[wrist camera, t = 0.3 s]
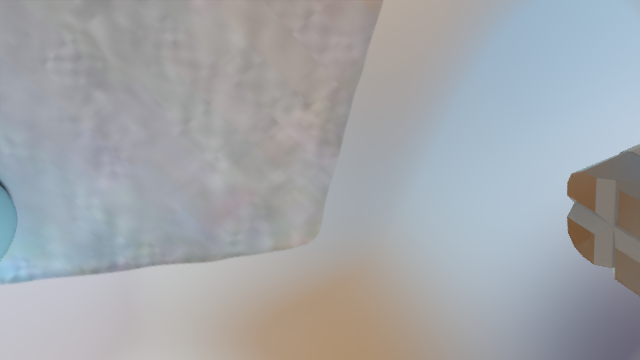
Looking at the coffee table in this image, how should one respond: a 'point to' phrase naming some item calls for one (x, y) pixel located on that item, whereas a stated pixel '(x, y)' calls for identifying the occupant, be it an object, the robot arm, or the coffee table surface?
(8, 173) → the coffee table surface
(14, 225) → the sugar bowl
